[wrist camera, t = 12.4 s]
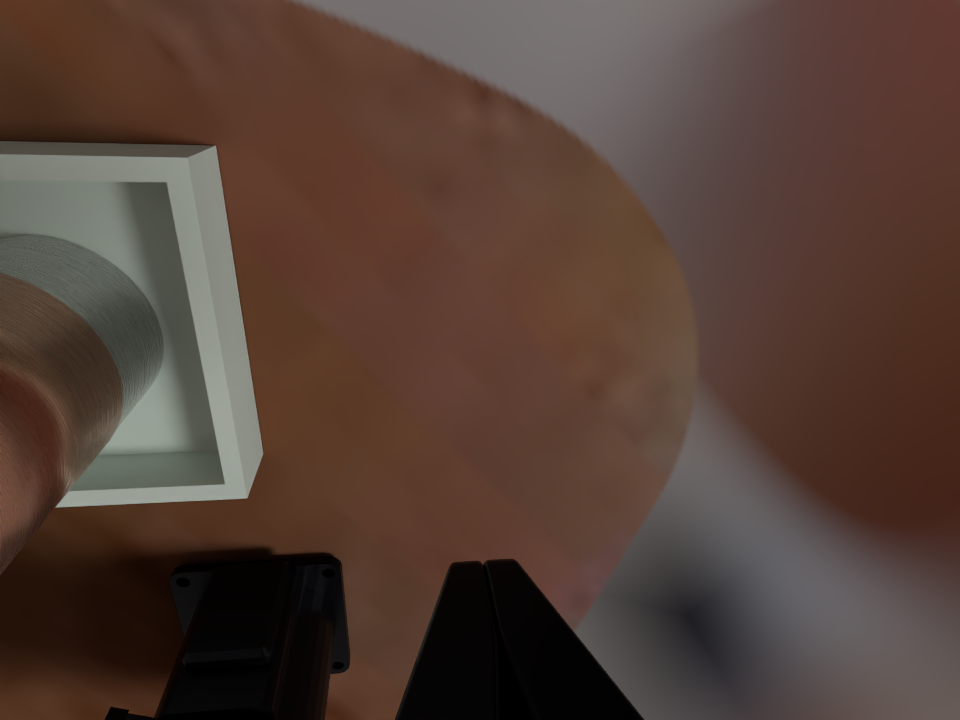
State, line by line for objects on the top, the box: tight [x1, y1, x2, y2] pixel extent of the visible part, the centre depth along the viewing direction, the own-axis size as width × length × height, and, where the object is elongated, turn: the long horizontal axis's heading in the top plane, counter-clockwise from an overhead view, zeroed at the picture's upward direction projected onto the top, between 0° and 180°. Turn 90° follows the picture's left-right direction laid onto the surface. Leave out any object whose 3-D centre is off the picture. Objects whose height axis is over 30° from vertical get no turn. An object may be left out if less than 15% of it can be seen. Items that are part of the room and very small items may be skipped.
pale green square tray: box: [0, 141, 263, 507], centre depth 17 cm, size 11×11×2 cm
